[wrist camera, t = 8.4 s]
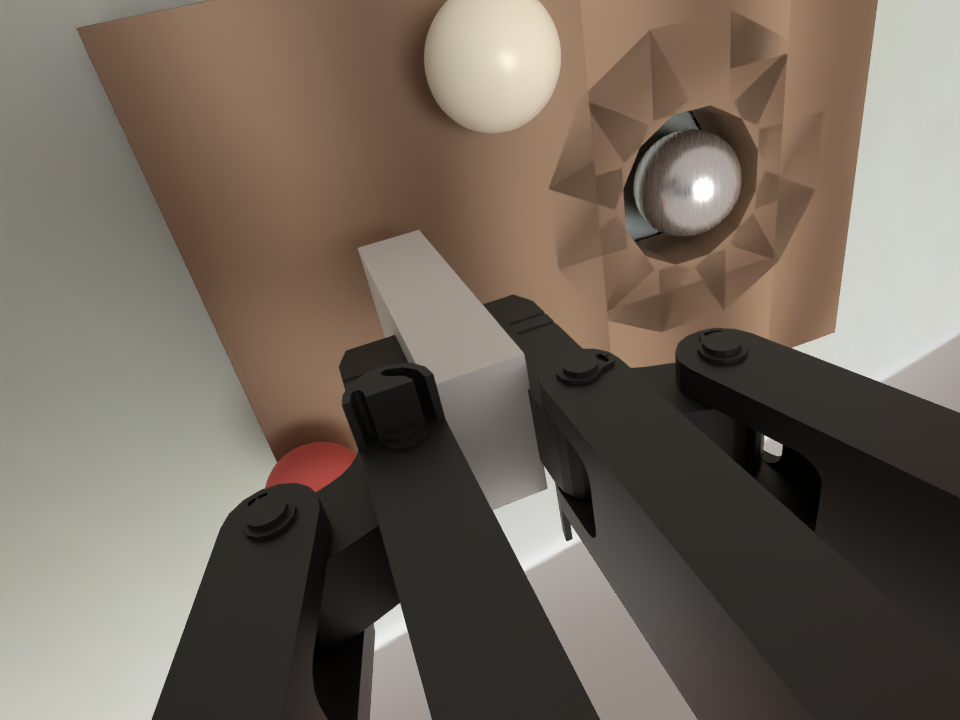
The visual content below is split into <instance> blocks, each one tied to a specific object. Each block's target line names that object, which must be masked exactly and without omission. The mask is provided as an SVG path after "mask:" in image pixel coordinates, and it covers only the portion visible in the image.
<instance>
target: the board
mask: <svg viewBox="0 0 960 720" xmlns="http://www.w3.org/2000/svg"><path fill="white" fill-rule="evenodd" d="M446 1H447V0H211V1H206V2H201V3H196V4H191V5H187V6H182V7H177V8H172V9H167V10H162V11H157V12H152V13H147V14H143V15H138V16H133V17H128V18H123V19H118V20H113V21H108V22H104V23H99V24H94V25H89V26H84V27H79V28H76V29H77V31H78V33H79V35H80V37H81V40H82V42H83V44H84V46H85V48H86V50H87V53H88V55H89V57H90V59H91V61H92V63H93V66H94V68H95V70H96V72H97V74H98V76H99V78H100V81H101V83H102V85H103V87H104V89H105V91H106V94H107V96H108V98H109V100H110V102H111V104H112V107H113V109H114V111H115V113H116V115H117V117H118V119H119V122H120V124H121V126H122V128H123V130H124V132H125V135H126V137H127V139H128V141H129V143H130V145H131V148H132V150H133V152H134V154H135V156H136V158H137V160H138V163H139V165H140V167H141V169H142V171H143V173H144V176H145V178H146V180H147V182H148V184H149V186H150V189H151V191H152V193H153V195H154V197H155V199H156V202H157V204H158V206H159V208H160V210H161V212H162V214H163V217H164V219H165V221H166V223H167V225H168V227H169V230H170V232H171V234H172V236H173V238H174V240H175V243H176V245H177V247H178V249H179V251H180V253H181V255H182V258H183V260H184V262H185V264H186V266H187V268H188V271H189V273H190V275H191V277H192V279H193V281H194V284H195V286H196V288H197V290H198V292H199V294H200V297H201V299H202V301H203V303H204V305H205V307H206V309H207V312H208V314H209V316H210V318H211V320H212V322H213V325H214V327H215V329H216V331H217V333H218V335H219V338H220V340H221V342H222V344H223V346H224V348H225V350H226V353H227V355H228V357H229V359H230V361H231V363H232V366H233V368H234V370H235V372H236V374H237V376H238V379H239V381H240V383H241V385H242V387H243V389H244V391H245V394H246V396H247V398H248V400H249V402H250V404H251V407H252V409H253V411H254V413H255V415H256V417H257V420H258V422H259V424H260V426H261V428H262V430H263V433H264V435H265V437H266V439H267V441H268V443H269V445H270V448H271V450H272V452H273V454H274V456H275V458H276V461H277V463H278V462H279V461H280V459H282V458H283V457H284V456H285V455H286V454H287V453H289V452H290V451H292V450H293V449H295V448H297V447H299V446H302V445H305V444H308V443H313V442H331V443H336V444H340V445H342V446H344V447H346V448H348V449H350V450H352V451H353V452H354V453H356V454H357V452H358V448H357V445H356V442H355V440H354V437H353V434H352V432H351V429H350V426H349V424H348V421H347V418H346V416H345V413H344V410H343V408H342V396H343V393H344V392H345V388H344V385H343V381H342V377H341V374H340V370H339V364H340V362H341V360H342V358H343V355H344V353H345V351H346V350H349V349H352V348H355V347H359V346H362V345H365V344H368V343H371V342H374V341H377V340H380V339H383V338H385V336H384V333H383V329H382V326H381V323H380V320H379V316H378V313H377V310H376V307H375V303H374V300H373V297H372V294H371V290H370V287H369V284H368V281H367V277H366V274H365V271H364V268H363V264H362V261H361V258H360V255H359V251H358V248H359V247H362V246H366V245H369V244H372V243H376V242H379V241H383V240H386V239H389V238H393V237H396V236H400V235H403V234H406V233H410V232H413V231H417V230H420V232H421V233H422V234H423V235H424V236H425V238H426V239H427V240H428V241H429V242H430V243H431V245H432V246H433V247H434V248H435V249H436V250H437V252H438V253H439V254H440V255H441V256H442V258H443V259H444V260H445V261H446V262H447V263H448V265H449V266H450V267H451V268H452V269H453V270H454V272H455V273H456V274H457V275H458V276H459V278H460V279H461V280H462V281H463V282H464V283H465V285H466V286H467V287H468V288H469V289H470V290H471V292H472V293H473V294H474V295H475V296H476V298H477V299H478V300H479V301H480V302H481V303H482V304H485V303H488V302H491V301H494V300H498V299H501V298H504V297H507V296H510V295H513V294H514V295H517V296H520V297H523V298H526V299H529V300H532V301H534V302H535V303H536V304H537V305H538V306H539V307H540V308H541V309H542V310H543V311H544V313H545V314H547V315H548V316H549V317H550V318H551V319H552V320H553V321H554V323H556V324H558V325H559V326H560V327H561V328H562V329H563V330H564V331H565V332H566V333H567V334H568V335H569V336H570V337H571V338H572V339H573V340H574V341H575V342H576V343H577V344H578V345H579V346H581V347H582V348H583V349H592V348H594V349H599V350H603V351H608V352H610V353H612V354H614V355H615V356H617V357H619V358H620V359H621V360H622V361H623V362H625V363H626V364H627V365H628V366H629V367H630V368H635V367H647V366H654V365H661V364H668V363H675V351H676V348H677V345H678V343H679V342H680V341H681V340H682V339H684V338H685V337H686V336H687V335H690V334H693V333H695V332H698V331H700V330H706V329H711V328H729V329H738V330H742V331H746V332H750V333H753V334H755V335H758V336H761V337H763V338H766V339H768V340H771V341H774V342H776V343H779V344H781V345H784V346H787V347H789V348H792V347H795V346H798V345H801V344H803V343H806V342H809V341H812V340H815V339H817V338H820V337H823V336H826V335H828V334H831V333H834V332H835V326H836V318H837V310H838V303H839V295H840V287H841V280H842V272H843V264H844V256H845V249H846V241H847V233H848V226H849V218H850V210H851V203H852V195H853V187H854V179H855V172H856V164H857V156H858V149H859V141H860V133H861V126H862V118H863V110H864V103H865V95H866V87H867V79H868V72H869V64H870V56H871V49H872V41H873V33H874V26H875V18H876V10H877V2H878V0H538V1H539V2H540V3H541V4H542V5H543V6H544V7H545V9H546V10H547V11H548V13H549V15H550V16H551V18H552V20H553V22H554V24H555V27H556V29H557V33H558V36H559V41H560V47H561V67H560V73H559V77H558V81H557V84H556V87H555V89H554V92H553V94H552V96H551V97H550V99H549V101H548V102H547V104H546V105H545V107H544V108H543V109H542V110H541V111H540V112H539V114H537V115H536V116H535V117H534V118H533V119H532V120H530V121H529V122H527V123H526V124H525V125H523V126H521V127H519V128H517V129H514V130H511V131H508V132H503V133H495V134H488V133H481V132H476V131H473V130H470V129H467V128H465V127H463V126H461V125H460V124H458V123H456V122H455V121H454V120H453V119H451V118H450V117H449V116H448V115H447V114H446V113H445V112H444V111H443V110H442V109H441V107H440V106H439V105H438V103H437V102H436V100H435V98H434V97H433V95H432V92H431V90H430V88H429V85H428V82H427V78H426V74H425V67H424V50H425V43H426V38H427V34H428V31H429V28H430V26H431V24H432V22H433V19H434V18H435V16H436V14H437V13H438V11H439V10H440V8H441V7H442V6H443V5H444V4H445V2H446ZM687 111H692V113H693V114H694V116H695V118H696V120H697V121H698V123H699V125H700V127H701V129H702V130H703V131H707V132H710V133H713V134H715V135H717V136H719V137H720V138H722V139H723V140H724V141H726V142H727V143H728V144H729V145H730V147H731V148H732V149H733V151H734V152H735V154H736V156H737V158H738V160H739V163H740V167H741V172H742V184H741V190H740V194H739V197H738V199H737V202H736V203H735V205H734V207H733V209H732V210H731V212H730V213H729V214H728V215H727V217H726V218H725V219H724V220H723V221H721V222H720V223H719V224H718V225H716V226H715V227H713V228H712V229H710V230H708V231H706V232H703V233H701V234H697V235H693V236H673V235H669V234H666V233H663V234H659V235H656V236H653V237H650V238H647V239H643V240H640V241H637V242H635V241H634V240H633V239H632V237H631V236H630V235H629V233H628V232H627V231H626V227H625V211H624V195H623V188H624V186H625V183H626V181H627V178H628V176H629V173H630V171H631V168H632V166H633V163H634V161H635V158H636V156H637V153H638V151H639V148H640V147H641V146H642V145H643V144H644V143H645V142H646V141H647V140H648V139H649V138H650V137H651V136H652V135H653V134H654V133H655V132H656V131H657V130H658V129H659V128H660V127H661V126H662V125H663V124H664V123H665V122H666V121H667V120H668V119H670V118H671V117H672V116H673V115H676V114H680V113H684V112H687Z"/></svg>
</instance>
